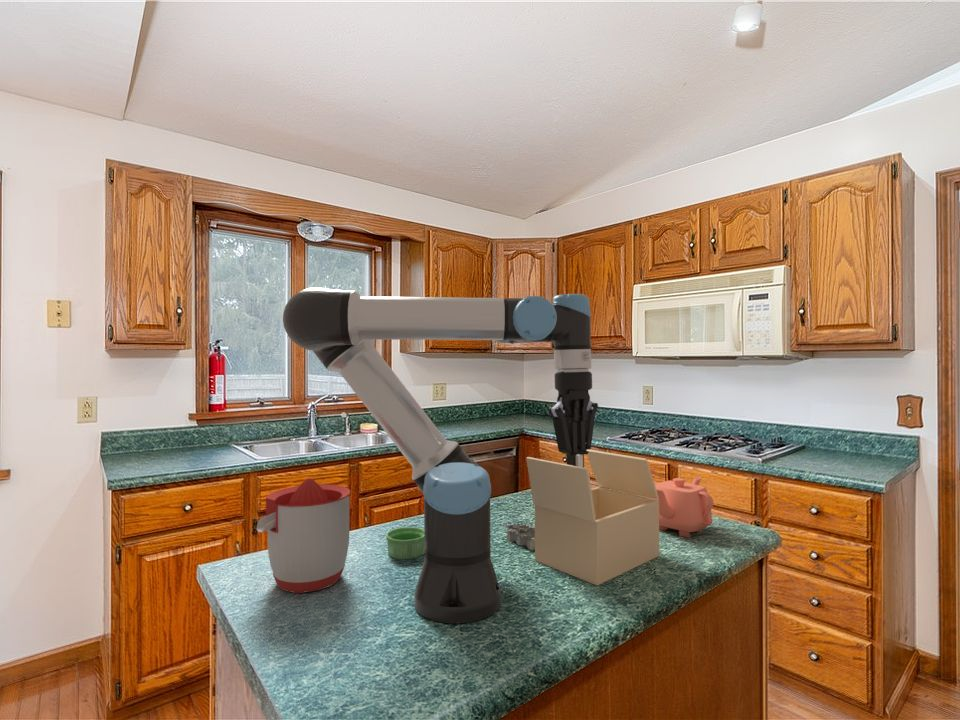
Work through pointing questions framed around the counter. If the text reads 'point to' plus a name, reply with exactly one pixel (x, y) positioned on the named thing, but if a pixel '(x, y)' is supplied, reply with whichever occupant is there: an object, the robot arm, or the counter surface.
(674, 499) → the teapot
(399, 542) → the ramekin
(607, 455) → the far flap
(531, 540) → the egg carton
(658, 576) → the counter surface
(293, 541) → the citrus juicer
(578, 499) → the near flap
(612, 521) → the carton
